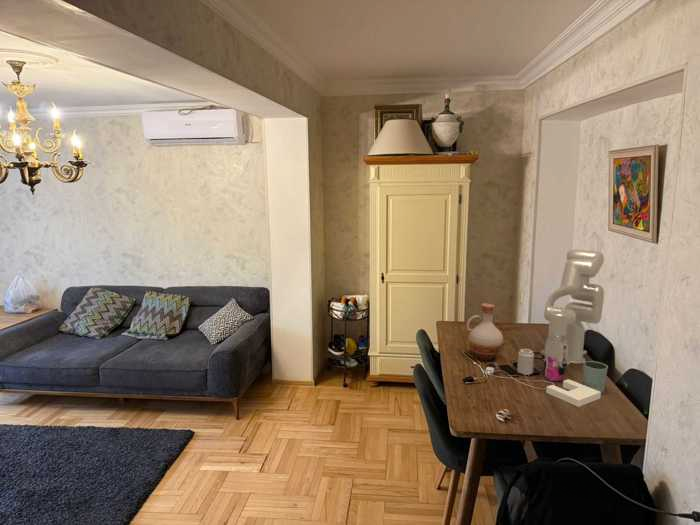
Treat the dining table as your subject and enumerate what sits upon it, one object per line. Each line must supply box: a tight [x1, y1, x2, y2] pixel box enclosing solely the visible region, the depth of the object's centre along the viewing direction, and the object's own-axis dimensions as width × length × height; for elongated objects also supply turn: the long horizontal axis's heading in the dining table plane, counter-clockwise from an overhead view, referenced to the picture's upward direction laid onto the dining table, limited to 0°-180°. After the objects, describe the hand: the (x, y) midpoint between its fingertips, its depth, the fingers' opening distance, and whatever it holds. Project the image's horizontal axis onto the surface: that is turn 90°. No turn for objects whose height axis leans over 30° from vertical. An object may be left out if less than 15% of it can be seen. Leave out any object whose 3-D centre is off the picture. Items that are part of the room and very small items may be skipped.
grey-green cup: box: [582, 360, 609, 394], centre depth 221 cm, size 10×10×12 cm
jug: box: [466, 302, 504, 361], centre depth 259 cm, size 20×18×30 cm
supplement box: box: [544, 357, 563, 383], centre depth 232 cm, size 6×6×12 cm
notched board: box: [545, 378, 602, 408], centre depth 215 cm, size 16×16×3 cm
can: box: [516, 348, 535, 376], centre depth 239 cm, size 8×8×12 cm
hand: (553, 371), depth 233 cm, fingers closed on supplement box, 7 cm apart
